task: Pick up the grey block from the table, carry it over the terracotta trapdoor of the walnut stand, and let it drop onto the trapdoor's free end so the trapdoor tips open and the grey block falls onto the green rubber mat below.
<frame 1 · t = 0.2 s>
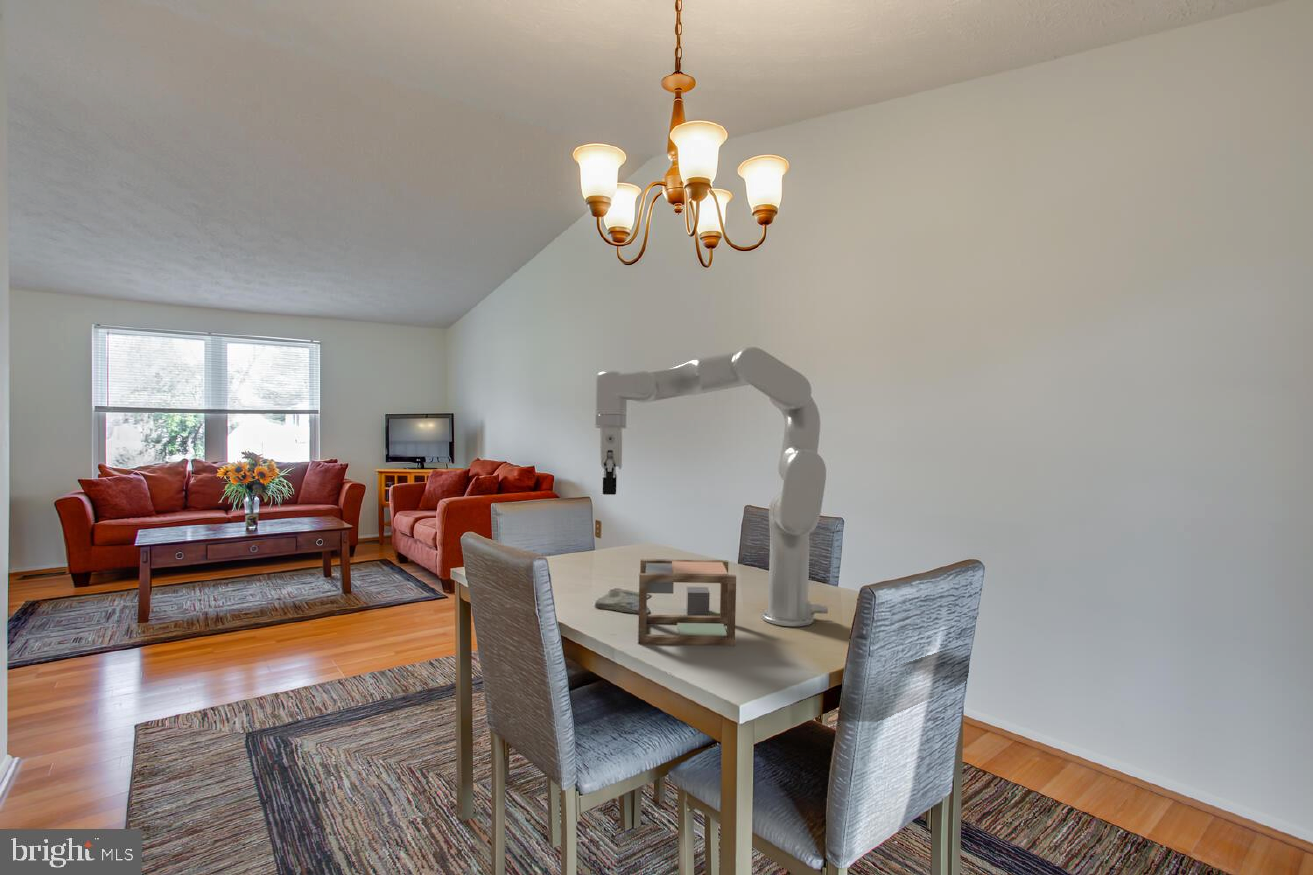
hand: (609, 492, 159), 31 cm above the table, tool pointing down, fingers open, 9 cm apart
trapdoor: (685, 577, 148), point 13 cm above the table, hinge at 0.0°
fossil rock: (627, 605, 171), on the table
stand: (671, 632, 148), on the table
mat: (702, 632, 149), on the table
grey block: (697, 613, 164), on the table
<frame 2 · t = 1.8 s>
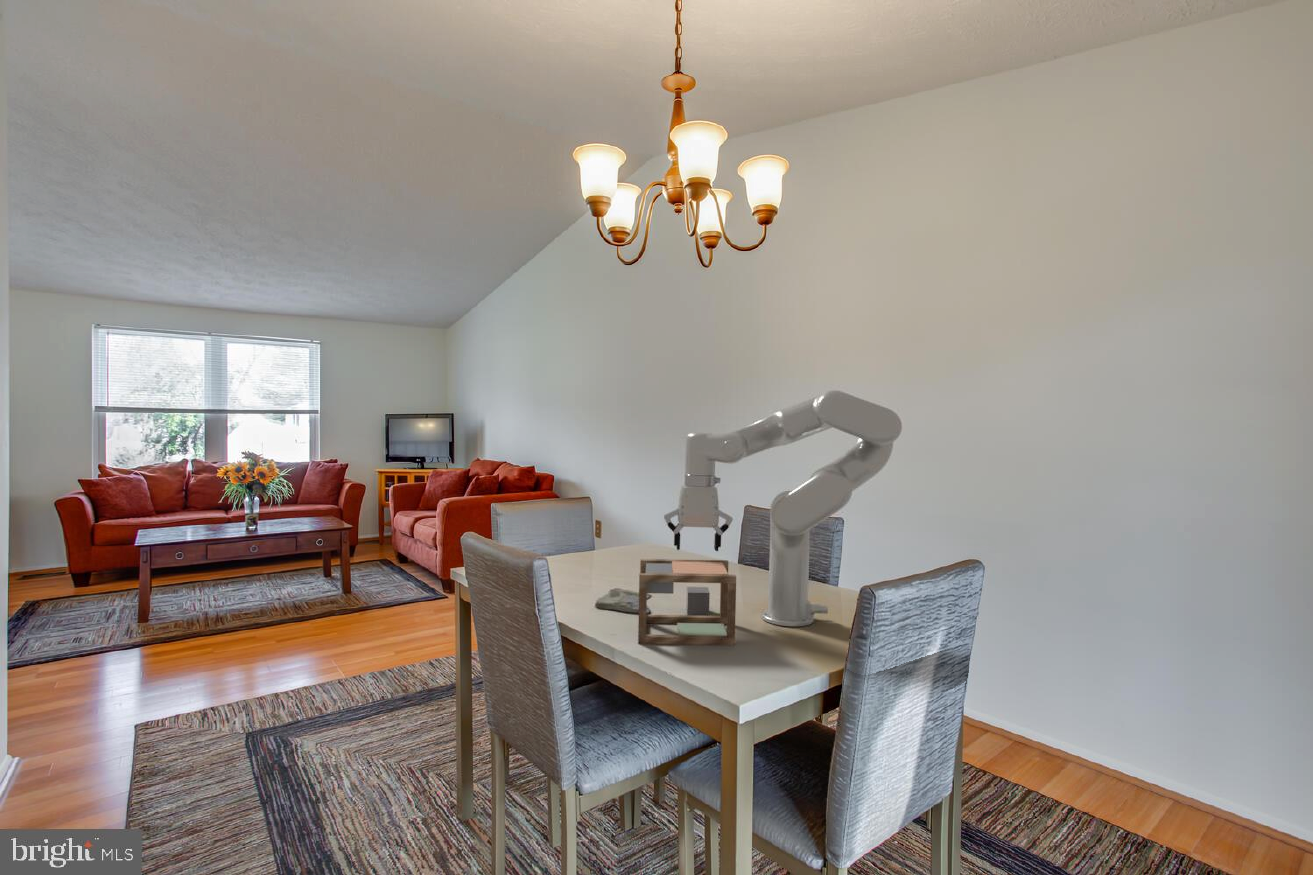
hand: (697, 549, 163), 16 cm above the table, tool pointing down, fingers open, 9 cm apart
nothing on the table moved.
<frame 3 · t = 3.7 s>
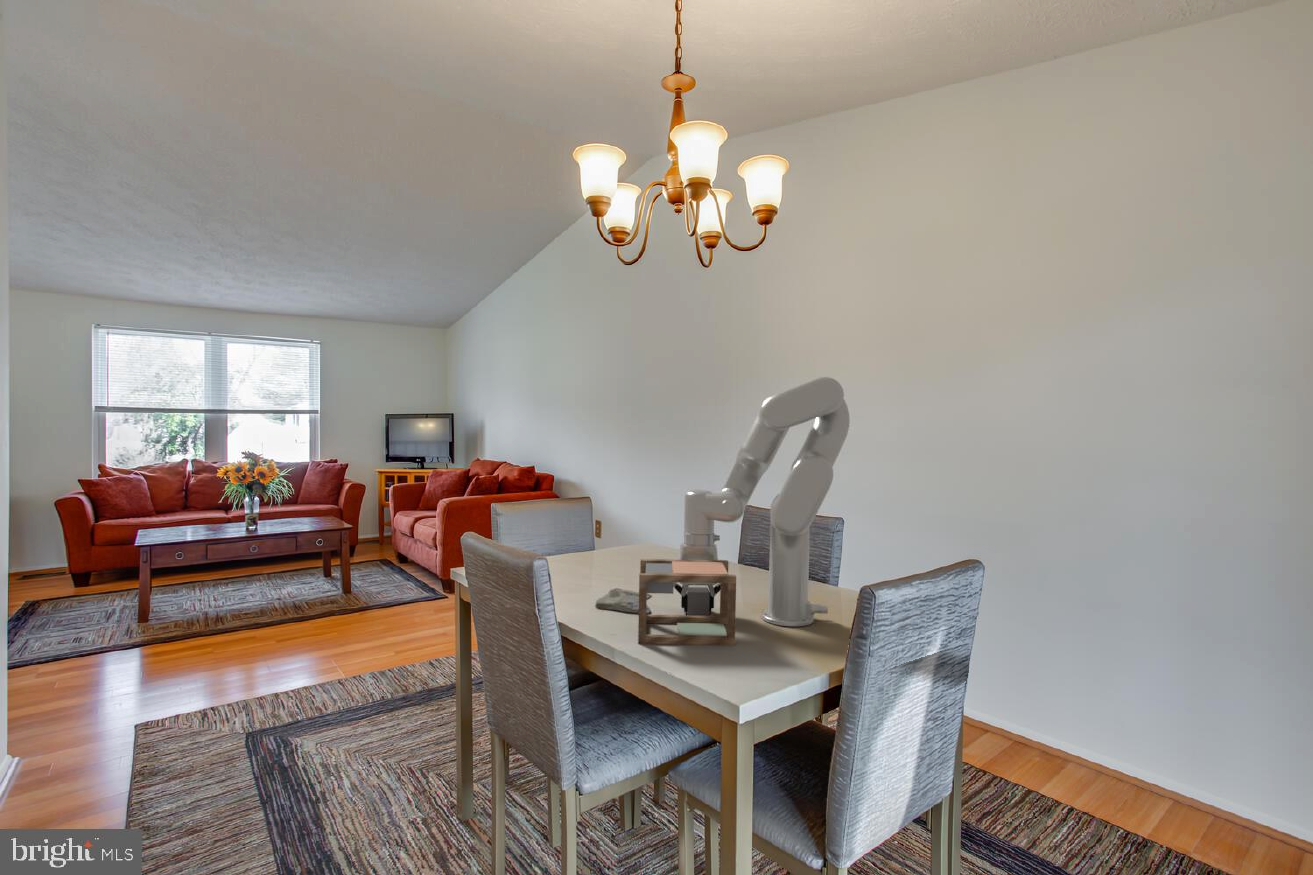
hand: (697, 610, 164), 1 cm above the table, tool pointing down, fingers closed on grey block, 5 cm apart
grey block: (697, 613, 164), on the table, touching gripper
everything else where it was.
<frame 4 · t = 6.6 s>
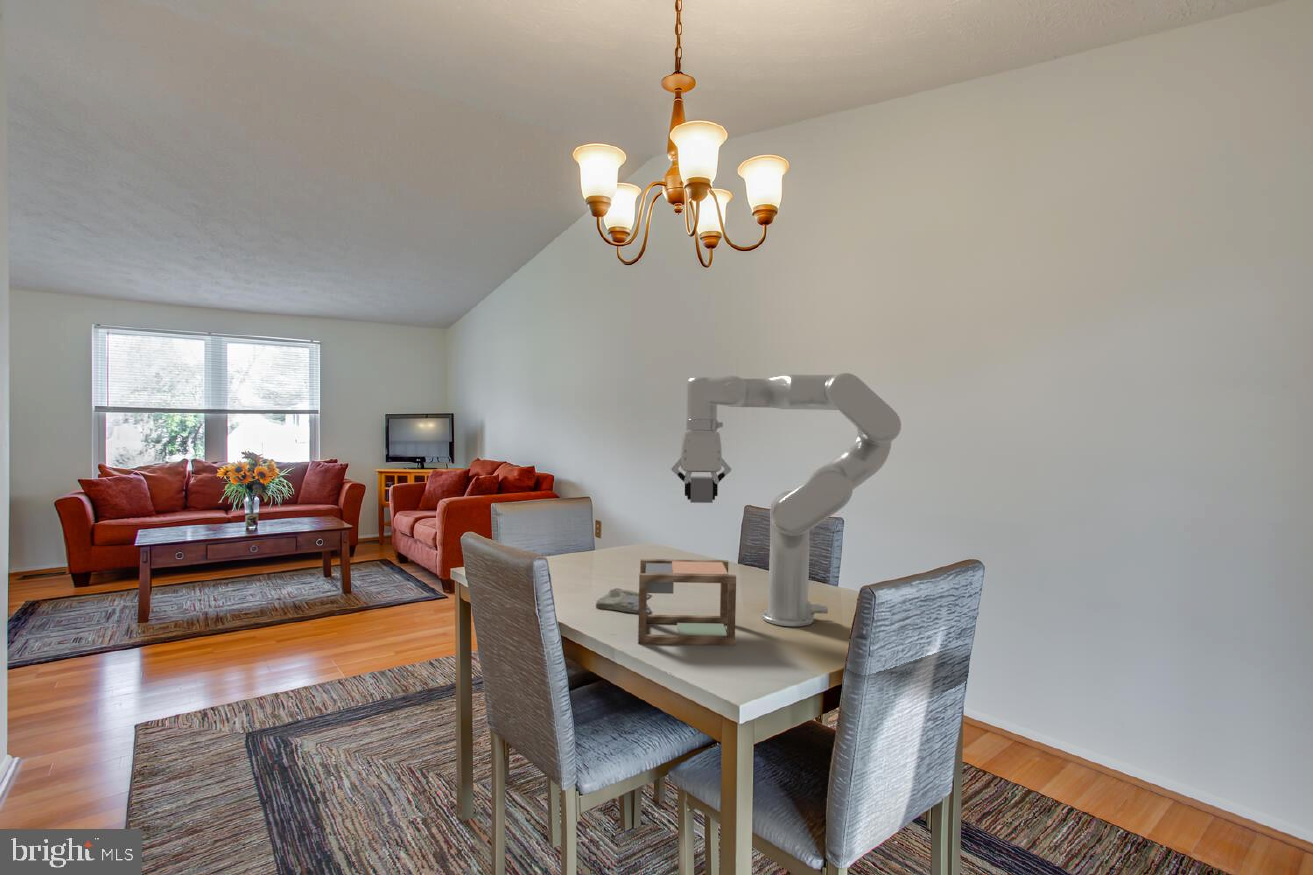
hand: (701, 498, 162), 29 cm above the table, tool pointing down, fingers closed on grey block, 5 cm apart
grey block: (700, 501, 162), point 28 cm above the table, touching gripper
everything else where it was.
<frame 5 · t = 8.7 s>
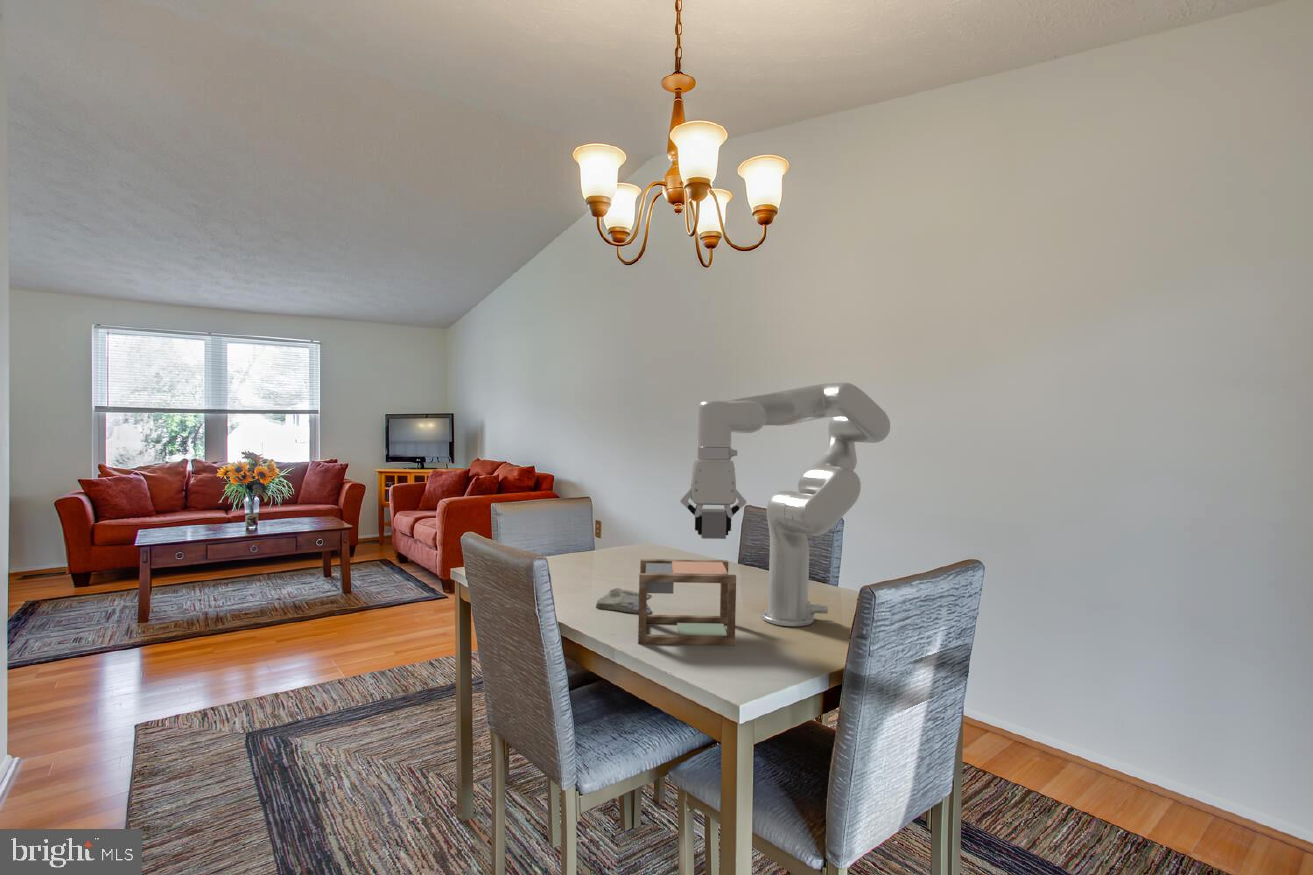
hand: (712, 533, 148), 23 cm above the table, tool pointing down, fingers closed on grey block, 5 cm apart
grey block: (712, 536, 148), point 22 cm above the table, touching gripper
everything else where it was.
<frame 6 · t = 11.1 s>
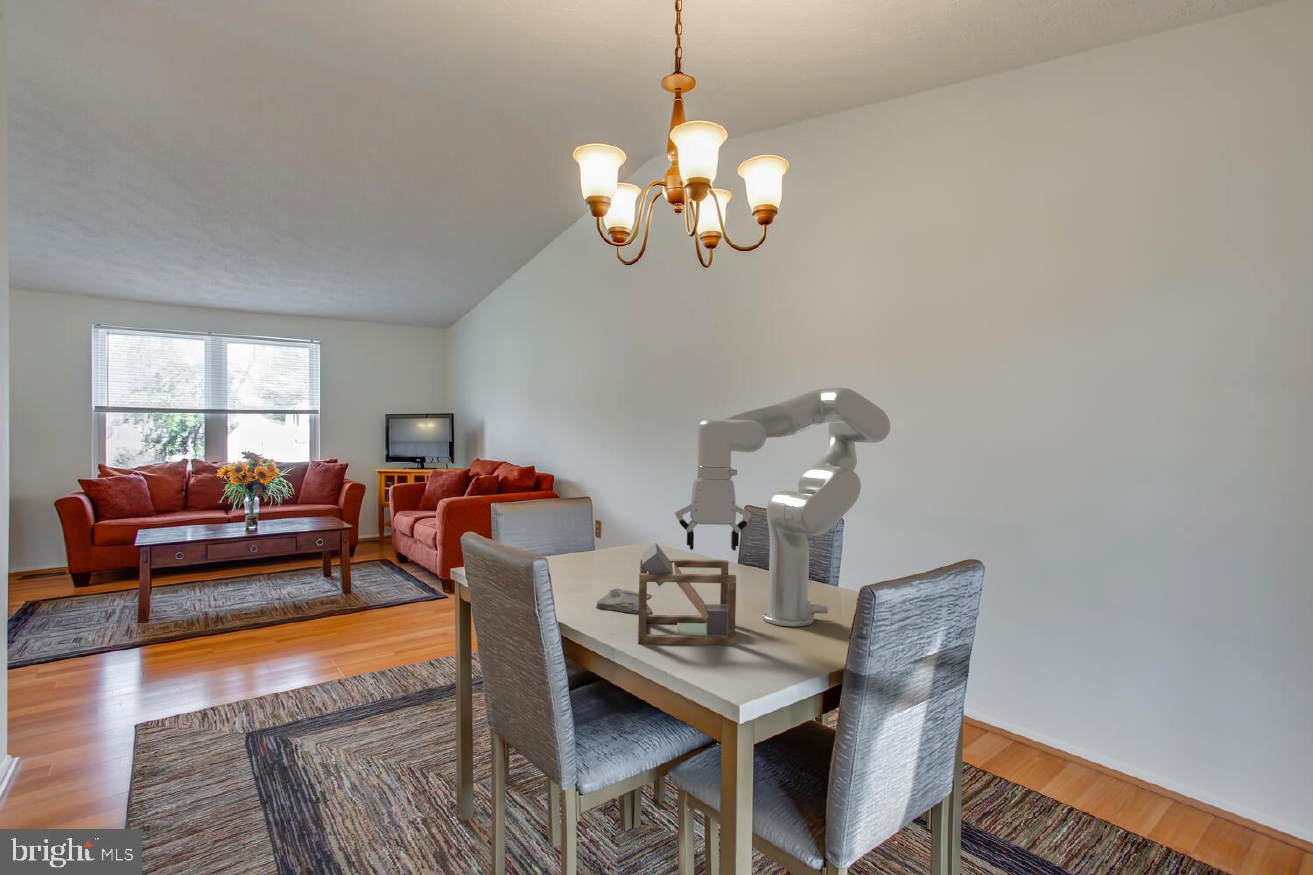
hand: (712, 548, 148), 19 cm above the table, tool pointing down, fingers open, 9 cm apart
trapdoor: (674, 583, 148), point 11 cm above the table, hinge at -51.5°, touching grey block
grey block: (706, 619, 149), point 3 cm above the table, tilted 90°, touching mat, trapdoor
everything else where it was.
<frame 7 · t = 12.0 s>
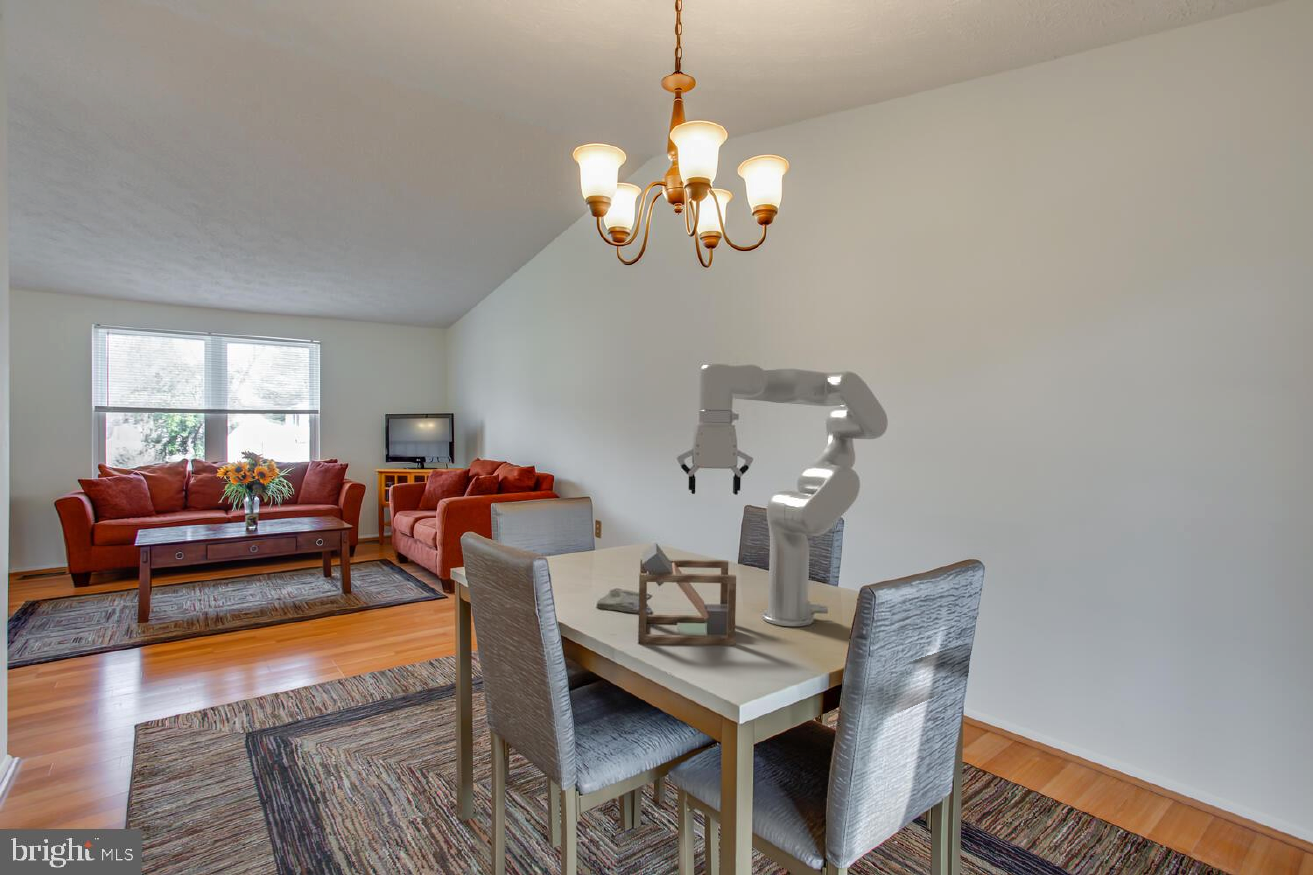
hand: (714, 493, 148), 32 cm above the table, tool pointing down, fingers open, 9 cm apart
nothing on the table moved.
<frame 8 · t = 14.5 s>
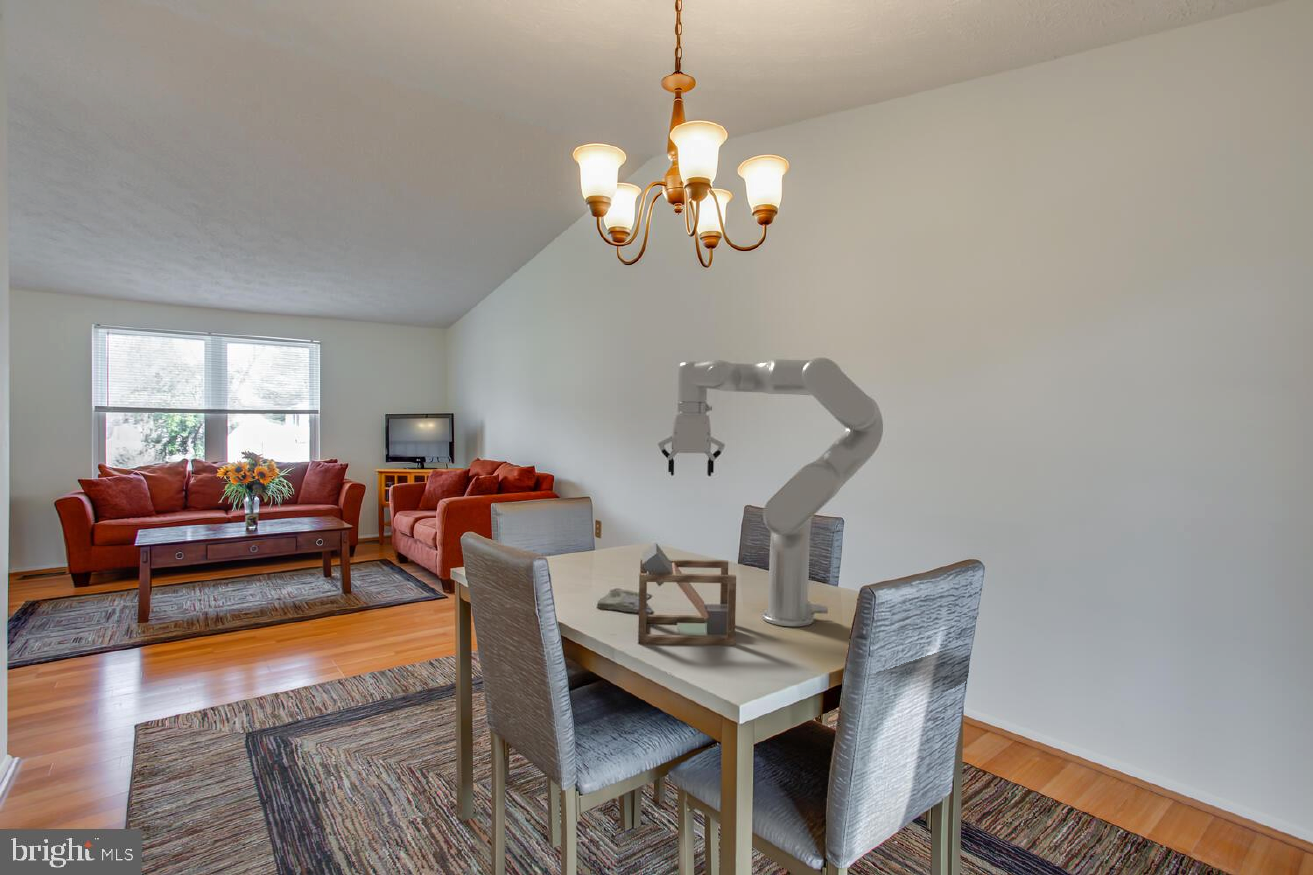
hand: (690, 475, 169), 34 cm above the table, tool pointing down, fingers open, 9 cm apart
nothing on the table moved.
at the end: grey block point 3.1 cm above the table; grey block inside the target area on the mat (0.9 cm from its centre), point 3.1 cm above the mat's base; the gripper is holding nothing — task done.
